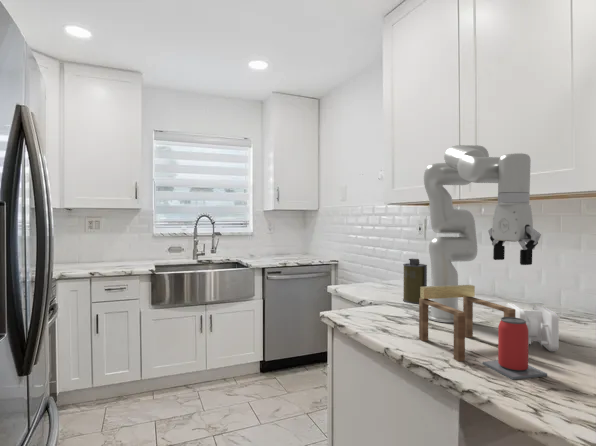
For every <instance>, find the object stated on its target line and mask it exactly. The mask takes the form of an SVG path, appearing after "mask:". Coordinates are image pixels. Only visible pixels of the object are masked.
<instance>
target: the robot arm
mask: <svg viewBox="0 0 596 446" xmlns="http://www.w3.org/2000/svg"><path fill="white" fill-rule="evenodd" d="M443 160H444V162H438V163H432V164H430V165H427V167H425V170H424V171H423V172H424V174H423V186H424V188H425V191H426V194H427V197H428V203H429V216H430V225H431V229H432V232H434V233H436V234H445V235H446V234H453V235H455V234H458V236H438V237H435V238H432V239H431V240H430V242H429V244H428V252H429V258H430V266H431V267H430V268H431V274H430V275H431V277H430V278H431V286H451V285H459V275H458V270H457V269H456V267H455V266H454V265H453V262H460V263H461V262H471V261H474V260H475V259H476V258H477V256H478V241H477V231H476V222H475V221H476V220H475V217H474V215H473V213H472V212H471V211H470V210H468V209H460V208H459V209H458V208H457V209H455V208H454V206H453V197H452V195H451V194H450V191H448V190H447V189H446V187H444V186H467V185H470V184H471V183H475V184H498V185H497V204H496V205H495V207H494V211H493V218H492V224H491V225H492V227H491V228H489V230H488V231H487V232H488V234H489V239H490V241H491V245H492V246H493V257H492V259H493V260H495V261H503V260H505V251H506V249H505V248H506V247H505V245H504V244H505V242H513V243H515V242H516V243H517V242H518V244H519V245H520V247H521V248H522V249H520V250H519V264H520V265H521V266H531V265H533V250H535V249H536V246H537V245H538V244H539V241H540V238H541V236H542V234H541V233H540V232H539V231H537V230H536V229H534V228H533V227H534V226H533V223H534V221H533V212H532V206H531V204H530V201H531V199H530V196H531V195H530V194H531V193H530V191H531V190H530V189H531V157H530V155H529V154H528V153H527V154H526V153H522V152H521V153H520V152H519V153H518V152H517V153H508V154H503V155H501V156H500V157H499V156H498V157H497V156H494V157H493V156H492V157H491V156H490V154H489V151H488V149H487V148H486V147H485V146H483V145H473V144H472V145H468V144H467V145H465V144H458V145H456V144H455V145H452V146H451V147H449V148H447V149H446V151H445V153H444V155H443ZM431 300H432V301H435V302H437V303H440V304H443V305H446V306H449V307H451V308H454V309H457V310H459V298H438V299H431ZM428 310H430V312H428V320H431V321H434V322H438V323H439V322H440V323H447V324H451V323H453V324H454V315H453V314H451V313H448V312H445V311H443V310H440V309H438V308H435V307H432V306H430V305H428Z"/></svg>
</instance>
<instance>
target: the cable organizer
mask: <svg viewBox="0 0 596 446" xmlns="http://www.w3.org/2000/svg"><path fill="white" fill-rule="evenodd" d="M505 307H509V308H512V309H515V318H520V319H523V320H525V321H526V324H527V327H528V345H529V344H530V345H529V346H531V344H532V342H538V343H539V344H540V346H541V347H545V348H546V350H548V351H549V352H551V353H553V352H557V351H558V350H559V345H560V344H559V336H560V335H559V332H560V331H559V330H560V329H559V327H560V325H559V322H560V321H559V315H558V314H557V312H555V311H553V310H551V309H549V308H547V307H546V306H545V305H542V304H534V305H533V306H532V309H525V308H523V309H522V308H521V307H519V306H517V305H516V304H514V303H511V302H510V303H509V302H508V303H507V302H506V304H505Z"/></svg>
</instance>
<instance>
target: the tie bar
mask: <svg viewBox="0 0 596 446" xmlns="http://www.w3.org/2000/svg"><path fill="white" fill-rule="evenodd" d="M475 287H476V286H475V285H473V284H458V285H451V286H432V285H431V286H430V285H429V286H426V287H420V298H422V299H429V300H432V299H438V298H458V299H459V298H463V297H474V298H476V296H475V293H476V292H475Z"/></svg>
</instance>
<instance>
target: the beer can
mask: <svg viewBox="0 0 596 446" xmlns="http://www.w3.org/2000/svg"><path fill="white" fill-rule="evenodd" d="M497 332H498V334H497V335H498V336H497V337H498V338H497V340H498V342H497V350H498V352H497V353H498V354H497V355H498V357H497V360H498V363H499V364H500V366H502V367H503V368H506V369H508V370H513V371H525V370H527V369H528V365H529V344H528V327H527V324H526V321H525V320H523V319H520V318H515V317H504V316H502V317H500V321H499V323H498V331H497Z"/></svg>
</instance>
